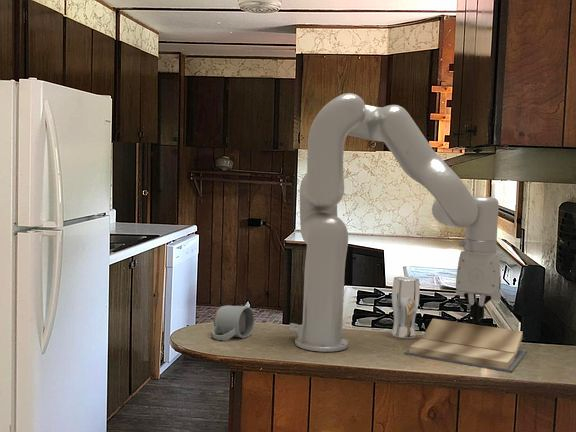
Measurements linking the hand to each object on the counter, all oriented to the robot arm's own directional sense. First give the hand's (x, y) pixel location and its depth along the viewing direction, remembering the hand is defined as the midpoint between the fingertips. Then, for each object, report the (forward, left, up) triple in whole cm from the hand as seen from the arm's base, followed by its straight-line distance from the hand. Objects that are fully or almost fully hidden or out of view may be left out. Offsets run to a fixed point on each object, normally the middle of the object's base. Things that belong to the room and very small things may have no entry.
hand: (476, 320), depth 162 cm
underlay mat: (0, -8, -6) cm, 10 cm away
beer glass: (-18, -1, -7) cm, 19 cm away
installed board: (0, -13, -6) cm, 14 cm away
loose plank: (0, -3, -4) cm, 5 cm away
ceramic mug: (-53, -29, -7) cm, 61 cm away
